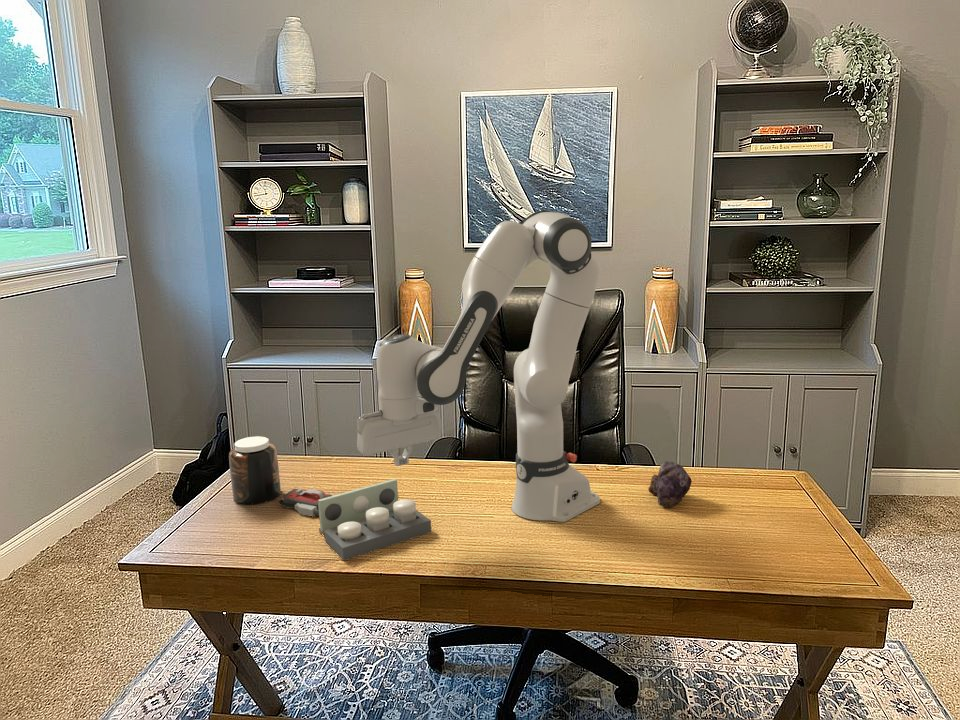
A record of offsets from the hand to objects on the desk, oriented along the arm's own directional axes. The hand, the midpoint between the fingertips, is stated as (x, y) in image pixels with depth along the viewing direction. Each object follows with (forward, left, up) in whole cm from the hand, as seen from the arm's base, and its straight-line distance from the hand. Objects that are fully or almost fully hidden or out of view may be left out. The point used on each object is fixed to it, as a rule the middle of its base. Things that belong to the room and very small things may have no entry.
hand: (401, 464), depth 173 cm
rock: (-61, +26, -17) cm, 68 cm away
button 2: (0, 0, -14) cm, 14 cm away
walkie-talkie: (+13, -23, -17) cm, 32 cm away
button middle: (+7, 0, -14) cm, 16 cm away
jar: (+22, -40, -17) cm, 49 cm away
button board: (+7, 0, -16) cm, 18 cm away
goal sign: (+7, -9, -16) cm, 20 cm away
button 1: (+14, 0, -16) cm, 21 cm away
